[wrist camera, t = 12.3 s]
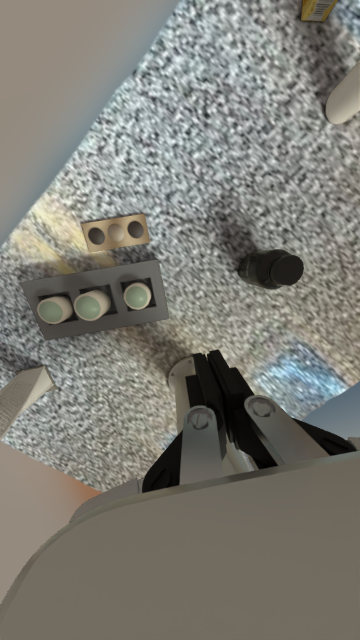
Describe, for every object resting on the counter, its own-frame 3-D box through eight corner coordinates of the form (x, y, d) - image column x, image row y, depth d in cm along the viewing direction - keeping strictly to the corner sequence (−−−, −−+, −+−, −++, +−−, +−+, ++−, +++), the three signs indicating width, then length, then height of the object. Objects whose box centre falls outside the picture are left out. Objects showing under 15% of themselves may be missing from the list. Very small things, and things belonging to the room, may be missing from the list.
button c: (80, 315, 37) (68, 322, 33) (57, 318, 37) (42, 326, 33) (72, 292, 36) (58, 297, 31) (48, 296, 36) (31, 301, 31)
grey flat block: (158, 259, 36) (157, 259, 33) (168, 314, 40) (168, 319, 37) (33, 280, 36) (19, 282, 33) (55, 334, 40) (45, 340, 36)
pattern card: (144, 214, 34) (144, 213, 33) (150, 242, 35) (149, 241, 35) (82, 224, 34) (80, 223, 33) (90, 252, 35) (89, 252, 34)
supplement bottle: (232, 263, 38) (260, 262, 26) (260, 245, 37) (302, 236, 26) (245, 290, 40) (277, 300, 28) (272, 273, 39) (316, 277, 28)
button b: (113, 311, 35) (105, 318, 31) (90, 315, 35) (78, 323, 31) (106, 288, 34) (97, 291, 29) (82, 292, 34) (69, 296, 29)
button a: (153, 302, 38) (152, 307, 33) (131, 306, 38) (127, 311, 33) (149, 279, 36) (146, 282, 32) (126, 283, 36) (120, 286, 32)
